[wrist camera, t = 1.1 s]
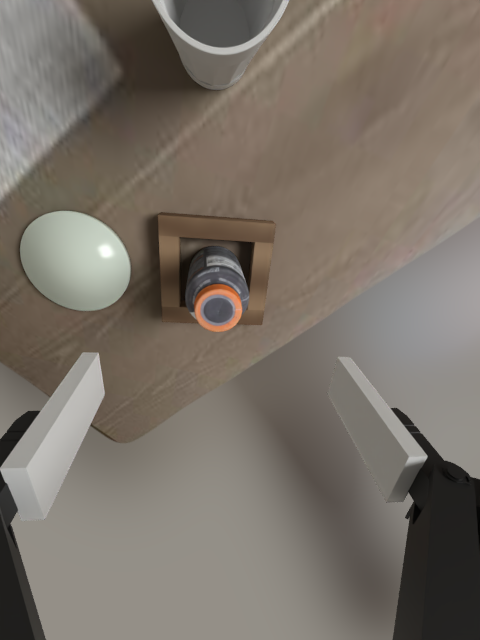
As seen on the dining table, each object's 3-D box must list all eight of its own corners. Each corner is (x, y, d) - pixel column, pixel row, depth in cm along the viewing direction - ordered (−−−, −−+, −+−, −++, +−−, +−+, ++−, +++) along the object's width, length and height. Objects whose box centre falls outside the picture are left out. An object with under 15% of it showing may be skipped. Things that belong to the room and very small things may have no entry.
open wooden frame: (160, 212, 30) (157, 214, 28) (272, 221, 32) (276, 223, 30) (164, 314, 36) (162, 321, 34) (259, 317, 37) (262, 325, 35)
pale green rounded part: (11, 206, 29) (6, 206, 28) (126, 214, 30) (124, 215, 29) (37, 306, 34) (34, 309, 33) (135, 309, 35) (133, 312, 34)
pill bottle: (206, 302, 35) (205, 353, 25) (179, 261, 33) (166, 301, 23) (249, 279, 35) (265, 323, 25) (224, 235, 32) (232, 264, 22)
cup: (226, 122, 27) (237, 91, 17) (149, 54, 24) (103, -35, 14) (279, 32, 25) (333, -73, 14) (200, -55, 22) (191, -268, 11)
